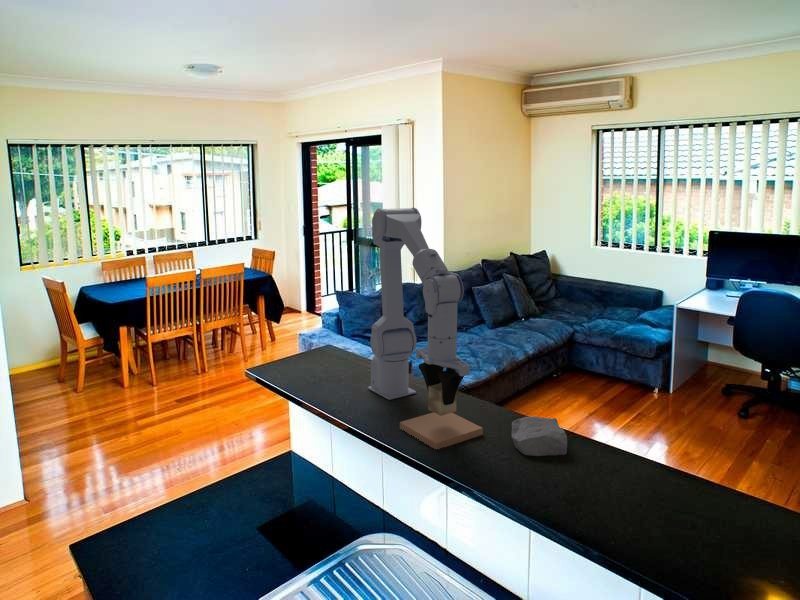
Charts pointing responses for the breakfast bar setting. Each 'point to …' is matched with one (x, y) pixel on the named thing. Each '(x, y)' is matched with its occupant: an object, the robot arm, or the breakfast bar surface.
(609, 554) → the breakfast bar surface
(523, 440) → the stone block
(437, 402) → the birch block
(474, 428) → the terracotta tile
